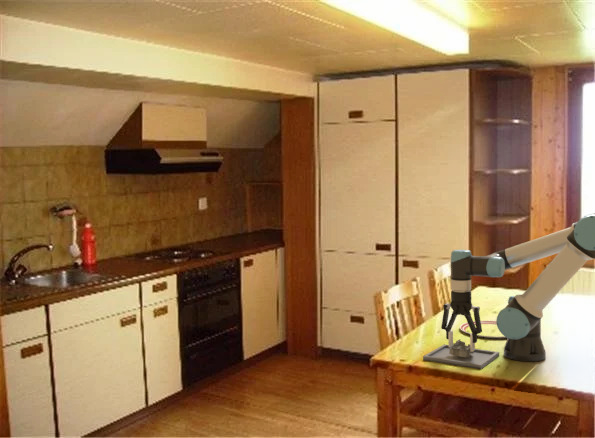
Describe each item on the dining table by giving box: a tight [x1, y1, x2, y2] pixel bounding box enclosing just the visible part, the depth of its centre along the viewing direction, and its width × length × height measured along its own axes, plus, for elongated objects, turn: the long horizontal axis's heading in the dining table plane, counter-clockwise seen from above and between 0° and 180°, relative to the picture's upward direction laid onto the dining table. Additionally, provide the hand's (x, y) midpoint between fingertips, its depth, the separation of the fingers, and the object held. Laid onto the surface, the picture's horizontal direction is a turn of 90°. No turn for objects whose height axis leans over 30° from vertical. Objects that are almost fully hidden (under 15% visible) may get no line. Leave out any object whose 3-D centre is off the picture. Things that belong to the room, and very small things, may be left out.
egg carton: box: [448, 339, 474, 357], centre depth 239 cm, size 11×8×4 cm
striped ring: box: [459, 320, 507, 339], centre depth 274 cm, size 28×27×3 cm
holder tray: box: [422, 344, 500, 370], centre depth 238 cm, size 22×20×2 cm
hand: (461, 349), depth 238 cm, fingers closed on egg carton, 8 cm apart
